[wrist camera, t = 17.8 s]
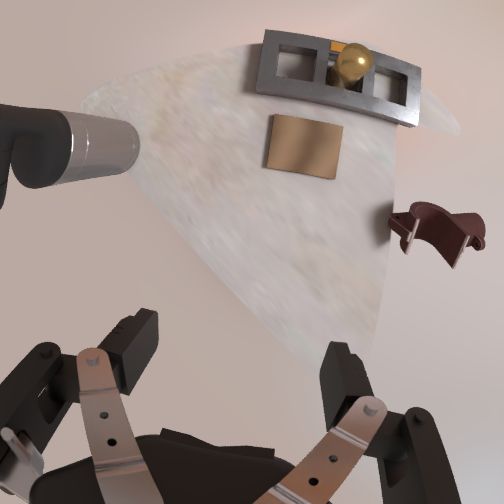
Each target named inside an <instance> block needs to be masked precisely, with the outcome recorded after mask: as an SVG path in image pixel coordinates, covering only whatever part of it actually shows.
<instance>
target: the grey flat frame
mask: <svg viewBox="0 0 504 504" xmlns="http://www.w3.org/2000/svg"><path fill="white" fill-rule="evenodd" d="M346 45H348V44H347V43H343V42H338V41H334V40H329V39H325V38H319V37H315V36H309V35H304V34H297V33H291V32H283V31H275V30H265V35H264V40H263V46H262V52H261V58H260V64H259V71H258V77H257V83H256V91H257V94H265V95H273V96H280V97H286V98H293V99H299V100H304V101H310V102H315V103H320V104H325V105H329V106H334V107H338V108H343V109H347V110H351V111H355V112H359V113H363V114H366V115H370V116H374V117H377V118H381V119H384V120H387V121H390V122H394V123H397V124H400V125H403V126H406V127H409V128H410V127H415V126H418V117H419V105H420V90H421V68H420V67H417V66H415V65H412V64H410V63H407V62H404V61H402V60H399V59H396V58H394V57H391V56H388V55H385V54H382V53H378V52H375V51H372V50H369V49H368V50H369V51H370V52H371V54H372V56H373V59H374V62H373V66H372V67H371V68H370V69H369V70H368V71H367V72H366V73H365V74H364V75H363V76H362V77H361V78H360V79H359V80H358V90H357V92H354V91H350V90H346V89H342V88H338V87H334V86H329V85H325V81H326V72H327V64H328V60H333V61H336V60H337V58H338V56H339V55H340V53H341V51H342V50H343V48H344V47H345V46H346ZM279 51H283V52H290V53H296V54H302V55H308V56H313V57H315V62H314V70H313V78H312V82H309V81H304V80H298V79H292V78H285V77H279V76H276V71H277V64H278V57H279ZM375 72H378V73H381V74H384V75H387V76H390V77H393V78H396V79H399V80H401V81H400V95H399V105H398V104H395V103H392V102H389V101H386V100H383V99H379V98H376V97H373V87H374V76H375Z"/></svg>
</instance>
